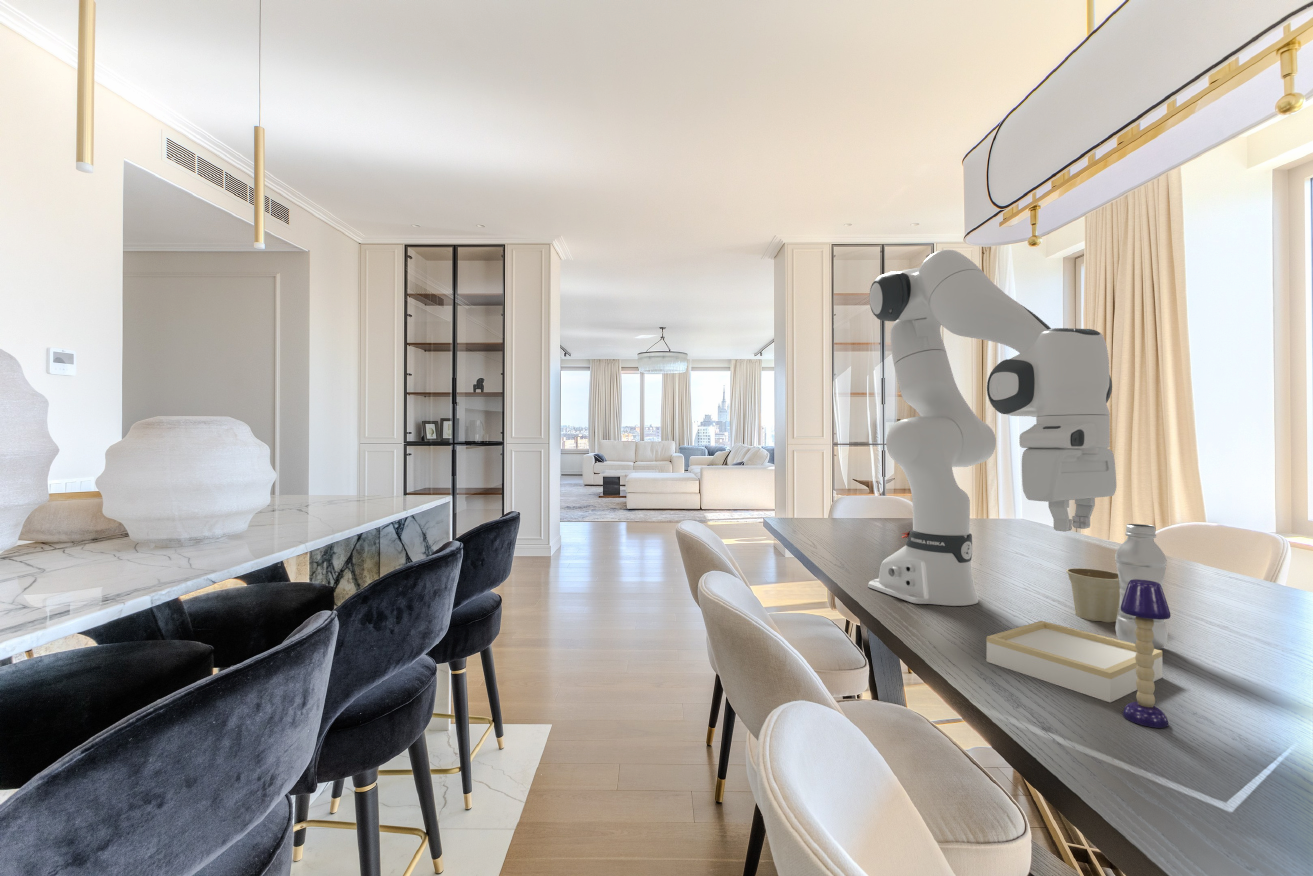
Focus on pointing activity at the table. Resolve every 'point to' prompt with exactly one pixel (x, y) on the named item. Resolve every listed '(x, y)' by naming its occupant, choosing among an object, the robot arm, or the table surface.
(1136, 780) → the table surface
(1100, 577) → the flower pot
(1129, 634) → the plastic bottle
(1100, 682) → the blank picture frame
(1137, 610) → the toy lamp
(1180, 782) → the table surface
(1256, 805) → the table surface
